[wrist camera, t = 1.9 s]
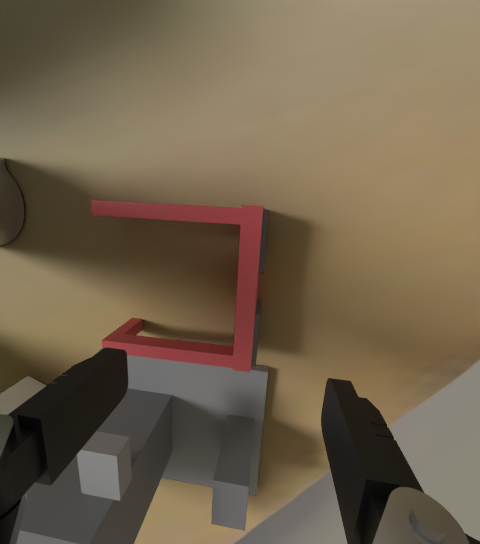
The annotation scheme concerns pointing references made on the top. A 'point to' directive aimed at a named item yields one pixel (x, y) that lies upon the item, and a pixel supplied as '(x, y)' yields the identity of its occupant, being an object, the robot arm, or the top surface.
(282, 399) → the top surface
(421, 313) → the top surface
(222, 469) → the stand
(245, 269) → the red c-shaped frame
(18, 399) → the milk
